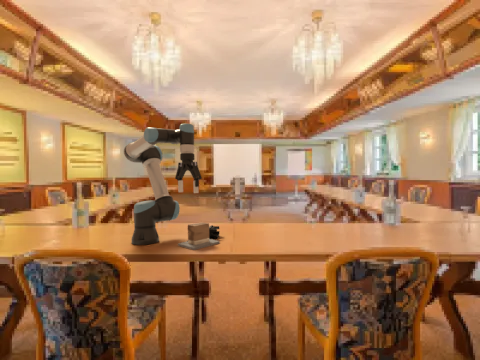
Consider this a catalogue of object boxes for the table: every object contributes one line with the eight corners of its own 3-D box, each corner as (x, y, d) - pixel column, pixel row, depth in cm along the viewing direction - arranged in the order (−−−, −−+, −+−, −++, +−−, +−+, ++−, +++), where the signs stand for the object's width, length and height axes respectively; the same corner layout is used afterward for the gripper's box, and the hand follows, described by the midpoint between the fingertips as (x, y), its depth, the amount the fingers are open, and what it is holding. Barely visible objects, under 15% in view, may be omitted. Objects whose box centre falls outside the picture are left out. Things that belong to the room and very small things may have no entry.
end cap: (208, 235, 181) (208, 225, 181) (219, 235, 180) (219, 225, 180) (205, 239, 171) (204, 228, 171) (216, 239, 170) (216, 228, 170)
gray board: (177, 245, 157) (177, 243, 157) (203, 239, 171) (203, 237, 170) (193, 250, 148) (193, 247, 148) (219, 243, 161) (219, 241, 161)
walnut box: (202, 222, 165) (202, 239, 165) (187, 224, 157) (188, 243, 158) (209, 223, 160) (209, 241, 161) (194, 226, 153) (195, 244, 153)
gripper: (207, 152, 150) (208, 193, 150) (179, 154, 167) (180, 191, 167) (196, 151, 144) (197, 194, 145) (168, 154, 161) (169, 192, 162)
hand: (188, 192), depth 156 cm, fingers open, 13 cm apart
